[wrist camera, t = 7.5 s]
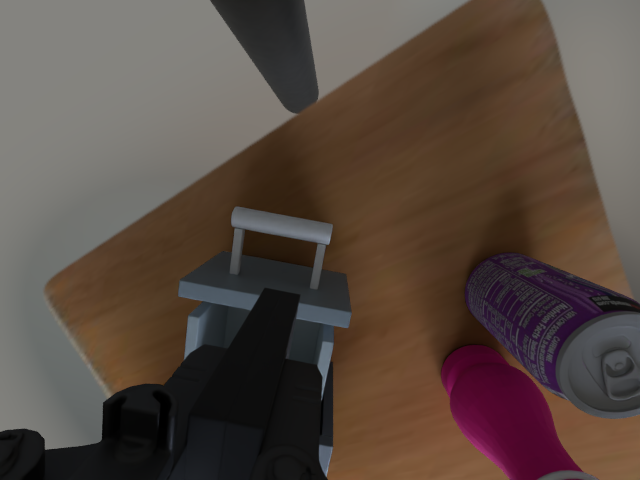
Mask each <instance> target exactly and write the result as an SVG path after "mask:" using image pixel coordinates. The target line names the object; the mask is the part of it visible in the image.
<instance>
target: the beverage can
mask: <svg viewBox="0 0 640 480" xmlns="http://www.w3.org/2000/svg"><path fill="white" fill-rule="evenodd" d="M465 300H466V304H467V307H468V309H469V310H470V312H471V313H472V315H473V316H474V317H475V318H476V319H477V320H478V321H479V322H480V323H481V324H482V325H483V326H484V327H485V328H486V329H487V330H488V331H489V332H490V333H491V334H492V335H493V336H494V337H495V338H496V339H497V340H498V341H499V342H500V343H501V344H502V345H503V346H504V347H505V348H506V349H507V350H508V351H509V352H510V353H511V354H512V355H513V356H514V357H515V358H516V359H517V360H518V361H519V362H520V363H521V364H522V365H523V366H524V367H525V368H526V369H527V370H528V371H529V372H530V373H531V374H532V375H533V376H534V377H535V378H536V379H537V380H538V381H539V382H540V383H541V384H542V385H543V386H544V387H545V388H546V389H548V390H549V391H550V392H552V393H553V394H555V395H557V396H559V397H561V398H564V399H566V400H569V401H571V402H572V403H573V404H574V405H575V406H576V407H577V408H579V409H580V410H582V411H584V412H586V413H588V414H590V415H593V416H597V417H601V418H610V419H618V418H627V417H632V416H636V415H639V414H640V304H639V303H638V302H636V301H635V300H633V299H631V298H629V297H627V296H624V295H622V294H619V293H617V292H614V291H612V290H610V289H607V288H605V287H602V286H600V285H597V284H595V283H592V282H590V281H587V280H585V279H582V278H580V277H577V276H575V275H573V274H570V273H568V272H565V271H563V270H560V269H558V268H555V267H553V266H550V265H548V264H545V263H543V262H540V261H538V260H536V259H533V258H531V257H528V256H526V255H523V254H519V253H501V254H497V255H494V256H491V257H489V258H487V259H486V260H484V261H483V262H481V263H480V264H479V265H478V266H477V267H476V268H475V269H474V270H473V271H472V273H471V274H470V276H469V278H468V280H467V283H466V287H465Z"/></svg>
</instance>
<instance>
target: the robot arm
mask: <svg viewBox="0 0 640 480" xmlns="http://www.w3.org/2000/svg"><path fill="white" fill-rule="evenodd" d="M300 296H301V295H300V294H295V293H290V292H285V291H280V290H275V289H270V288H264V290H263V291H262V293H261V294H260V296H259V298H258V299H257V301H256V303H255V304H254V306H253V308H252V309H251V311H250V313H249V314H248V316H247V318H246V319H245V321H244V323H243V324H242V326H241V328H240V329H239V331H238V333H237V334H236V336H235V338H234V339H233V341H232V343H231V344H230V346H229V348H222V347H217V346H212V345H207V344H204V345H202V346H200V347H199V348H197V349H195V350H194V351H192V352H190V353H189V355H188V356H187V357H186V358H185V360H184V361H183V362H182V363H181V366H180V367H178V368H177V370H176V371H175V372H174V373H173V375H172V377H170V378H169V380H168V381H167V382H166V383H165V385H164V386H163V385H160V384H142V385H137V386H132V387H129V388H126V389H124V390H122V391H120V392H117V393H115V394H114V395H113V396H111V397H110V398H109V399H107V400H106V401H105V402H103V424H102V440H101V441H100V442H99V443H96V444H91V445H85V446H78V447H68V448H59V449H49V450H45V440H44V438H43V437H42V436H41V435H40V434H39V433H38V432H36V431H32V430H28V429H15V430H5V431H2V432H0V480H328V479H327V477H326V476H325V474H324V472H323V470H322V467H321V464H320V461H319V438H320V418H321V399H322V379H323V377H322V375H321V373H320V371H319V369H318V367H317V365H316V364H311V363H306V362H300V361H295V360H290V359H288V358H289V354H290V349H291V343H292V338H293V333H294V327H295V322H296V317H297V311H298V306H299V301H300Z"/></svg>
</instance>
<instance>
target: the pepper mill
mask: <svg viewBox="0 0 640 480" xmlns="http://www.w3.org/2000/svg"><path fill="white" fill-rule="evenodd" d="M441 379H442V383H443V385H444V387H445V389H446V391H447V393H448V395H449V397H450V407H451V412H452V415H453V418H454V420H455V421H456V423H457V425H458V426H459V428H460V430H461V431H462V433H463V434H464V435H465V437H466V438H467V439H468V440H469V441H470V442H471V443H472V444H473V445H474V446H475V447H476V448H477V449H478V450H479V451H480V452H482V453H483V454H484V455H485V456H486V457H488V458H489V459H490V460H491V461H493V462H494V463H495V464H496V465H497V466H498V467H499V468H500V469H501V470H502V471H503V472H504V473H505V474H506V475H507V477H508V478H509V479H510V480H599V479H597V478H596V477H594V476H592V475H589V474H587V473H584V472H583V471H582V470H581V469H580V468H579V467H578V466H577V465H576V464H575V462H574V461H573V460H572V458H571V457H570V456H569V454H568V453H567V452H566V450H565V449H564V448H563V446H562V444H561V442H560V441H559V439H558V436H557V433H556V430H555V426H554V422H553V418H552V414H551V411H550V409H549V406H548V404H547V402H546V400H545V398H544V396H543V394H542V393H541V391H540V390H539V388H538V387H537V386H536V385H535V383H534V382H533V381H532V380H531V379H530V378H529V377H528V376H527V375H526V374H525V373H523V372H522V371H520V370H518V369H517V368H515V367H512V366H510V365H509V364H508V363H507V362H506V360H505V359H504V358H503V357H502V356H501V355H500V354H499V353H498V352H496V351H495V350H494V349H492V348H490V347H486V346H483V345H469V346H464V347H462V348H459V349H457V350H455V351H454V352H453V353H452V354H450V355H449V356H448V358H447V359H446V360H445V362H444V364H443V367H442V371H441Z"/></svg>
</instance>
